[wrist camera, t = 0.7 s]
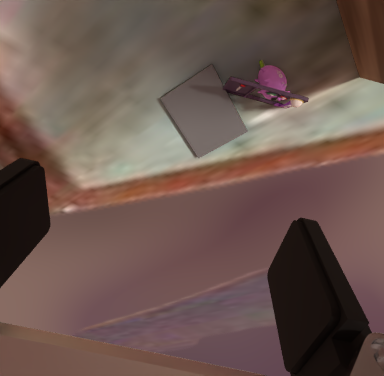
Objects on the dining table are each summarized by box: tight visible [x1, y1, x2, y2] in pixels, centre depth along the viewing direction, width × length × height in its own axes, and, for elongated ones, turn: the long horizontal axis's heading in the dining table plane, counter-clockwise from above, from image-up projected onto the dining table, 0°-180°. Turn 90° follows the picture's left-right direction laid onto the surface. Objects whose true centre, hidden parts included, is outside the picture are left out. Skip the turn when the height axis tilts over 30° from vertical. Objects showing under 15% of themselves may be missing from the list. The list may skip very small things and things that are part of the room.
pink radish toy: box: [223, 60, 309, 108], centre depth 32 cm, size 7×5×9 cm
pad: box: [160, 64, 248, 158], centre depth 37 cm, size 8×10×1 cm
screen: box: [336, 0, 384, 84], centre depth 25 cm, size 2×12×12 cm, turn 32°
